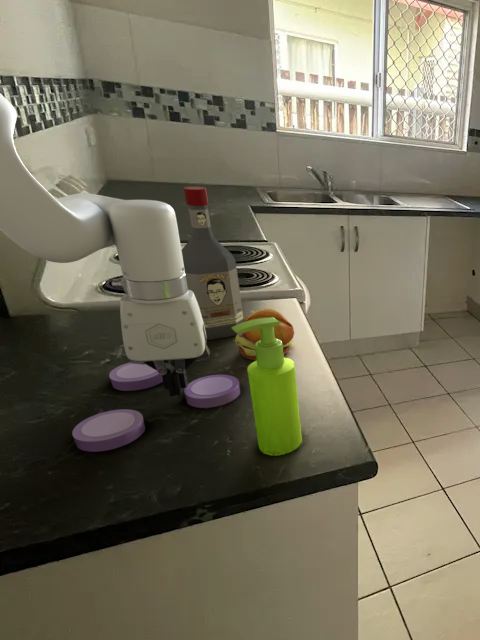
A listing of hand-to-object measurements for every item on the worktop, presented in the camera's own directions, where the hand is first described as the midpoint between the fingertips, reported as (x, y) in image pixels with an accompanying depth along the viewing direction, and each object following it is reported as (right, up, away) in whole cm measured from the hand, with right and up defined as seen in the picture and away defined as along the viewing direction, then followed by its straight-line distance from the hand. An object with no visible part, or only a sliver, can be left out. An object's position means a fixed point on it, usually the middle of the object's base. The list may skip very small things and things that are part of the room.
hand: (177, 391), depth 78 cm
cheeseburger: (+6, +6, +18) cm, 20 cm away
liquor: (-8, +10, +25) cm, 28 cm away
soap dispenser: (+20, -7, -8) cm, 23 cm away
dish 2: (-10, +2, +5) cm, 11 cm away
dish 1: (-3, -5, -9) cm, 11 cm away
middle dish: (+4, -1, +3) cm, 5 cm away
